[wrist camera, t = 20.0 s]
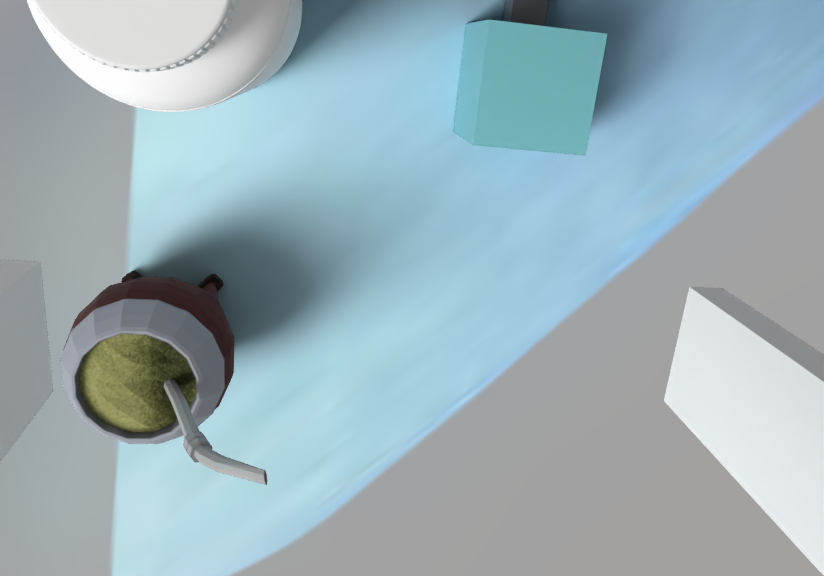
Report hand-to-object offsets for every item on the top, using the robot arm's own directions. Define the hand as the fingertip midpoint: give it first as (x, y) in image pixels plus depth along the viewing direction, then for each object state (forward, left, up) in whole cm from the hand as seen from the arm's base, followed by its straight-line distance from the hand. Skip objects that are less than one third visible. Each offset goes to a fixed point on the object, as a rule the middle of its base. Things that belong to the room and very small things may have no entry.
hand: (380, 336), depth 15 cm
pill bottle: (-7, -7, -22) cm, 24 cm away
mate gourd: (+8, -8, -22) cm, 24 cm away
